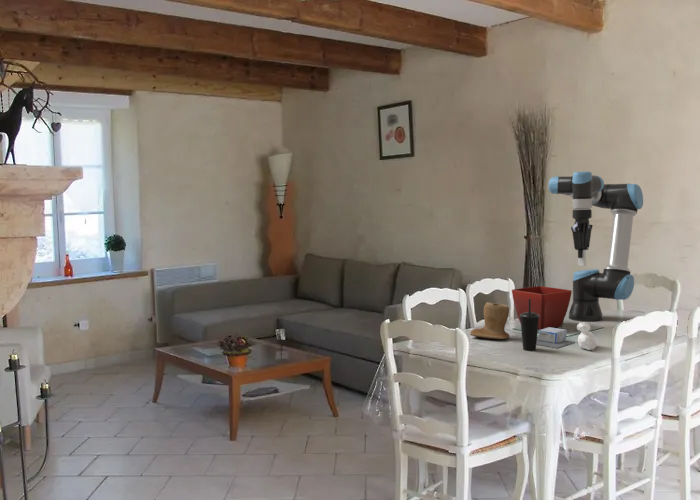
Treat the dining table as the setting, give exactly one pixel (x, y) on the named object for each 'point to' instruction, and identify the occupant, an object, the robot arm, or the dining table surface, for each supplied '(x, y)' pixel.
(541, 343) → the mat
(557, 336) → the medicine box
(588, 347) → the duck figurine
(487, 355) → the dining table surface
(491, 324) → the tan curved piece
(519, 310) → the plant pot
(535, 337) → the drinking cup
